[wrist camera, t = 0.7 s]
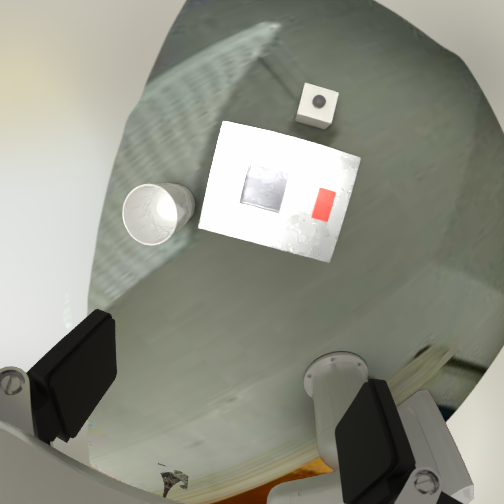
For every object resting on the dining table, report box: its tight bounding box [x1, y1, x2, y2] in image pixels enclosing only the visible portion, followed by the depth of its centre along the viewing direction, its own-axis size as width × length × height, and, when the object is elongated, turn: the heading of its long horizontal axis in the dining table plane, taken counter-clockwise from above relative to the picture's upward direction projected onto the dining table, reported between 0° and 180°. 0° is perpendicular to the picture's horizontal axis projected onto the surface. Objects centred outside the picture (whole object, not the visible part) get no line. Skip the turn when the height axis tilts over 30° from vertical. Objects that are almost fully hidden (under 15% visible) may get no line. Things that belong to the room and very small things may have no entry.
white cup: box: [123, 183, 195, 245], centre depth 40 cm, size 8×8×10 cm
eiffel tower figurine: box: [158, 463, 188, 498], centre depth 63 cm, size 15×10×13 cm
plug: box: [295, 83, 339, 130], centre depth 35 cm, size 4×4×7 cm
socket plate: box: [198, 121, 361, 263], centre depth 41 cm, size 20×16×3 cm
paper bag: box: [396, 390, 474, 504], centre depth 39 cm, size 19×15×28 cm
